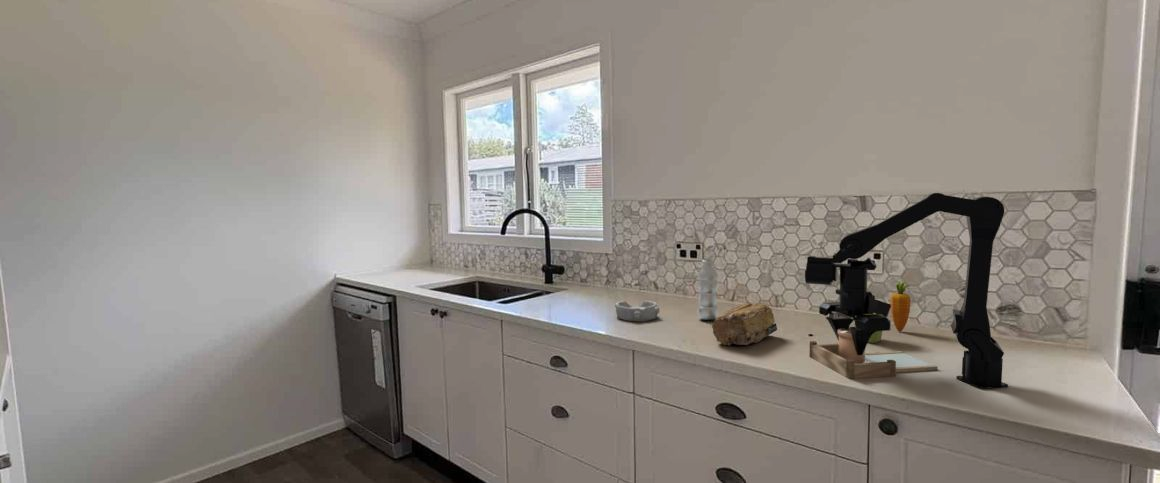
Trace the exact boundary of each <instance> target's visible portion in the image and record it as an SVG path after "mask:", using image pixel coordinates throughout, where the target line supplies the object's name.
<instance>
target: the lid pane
mask: <svg viewBox="0 0 1160 483" xmlns="http://www.w3.org/2000/svg"><path fill="white" fill-rule="evenodd" d="M887 360H894V361H896V373H908V372H923V371H925V372H926V371H938V369H939V368H938V366H937V365H935V364H930V363H928V362H926V361H923V360H921V359H919V358H916V357H914V356H911V355H909V354H906V353H904V351H900V350H896V351H895V350H894V351H881V352H880V351H879V352H865V361H867V362H869V363H875V362H887Z"/></svg>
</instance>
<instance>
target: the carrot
mask: <svg viewBox="0 0 1160 483" xmlns="http://www.w3.org/2000/svg"><path fill="white" fill-rule="evenodd" d="M895 285H896V286H895V287H896V290H897V292H895V293H892V294H891V295H890V304H891V308H890V313H891V318H892V321H893V325H894V326H895V328H896V330H897V331H898V332H899V333H901V332H902V331H903V330H904V328H905V327H906V326H907V322H908V319H909V316H910V311H911V296H910V295H909V294H907V293H905V291H906V290H907V289H906V288H907V287H908V288H909V287H910V284H906V282H905V281H901V282H900V281H897V283H896V284H895Z"/></svg>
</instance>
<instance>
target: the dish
mask: <svg viewBox="0 0 1160 483" xmlns="http://www.w3.org/2000/svg"><path fill="white" fill-rule="evenodd" d="M614 306H615V307H614V308H615V311H616V312H615V314H616V317H617V318H618V319H620V320H623V321H631V322H646V321H652V320H655V319H657V318H658V314H660V311H661V310H660V308H659V307H658V305H657V302H656V301H655V302H654V301H650V300H644V301H643V302H642V304H641V305H638V306H631V305H630V304H629V303H628V302H627V301H626V300H621V301H618V302H616V303H615V305H614Z"/></svg>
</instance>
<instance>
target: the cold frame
mask: <svg viewBox="0 0 1160 483" xmlns="http://www.w3.org/2000/svg"><path fill="white" fill-rule="evenodd" d="M809 357H810V358H811V359H814V360H815V361H817V362H818V363H820V364H822V365H824V366H826V367H828V369H831V370H832V371H834V372H836V373H838V374H840V375H841V376H843V377H844V378H846V379H849V380H854V379H869V378H882V377H881V376H886V377H896V373H897V372H896V361H894V360H887V362H875V363H872V362H864V363H859V364H855V361H853V360H851V359H850V360H846V359H844V358H842V357H840V356H839V343H826V344H824V343H822V344H818V342H817V341H815V340H810V341H809Z"/></svg>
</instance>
